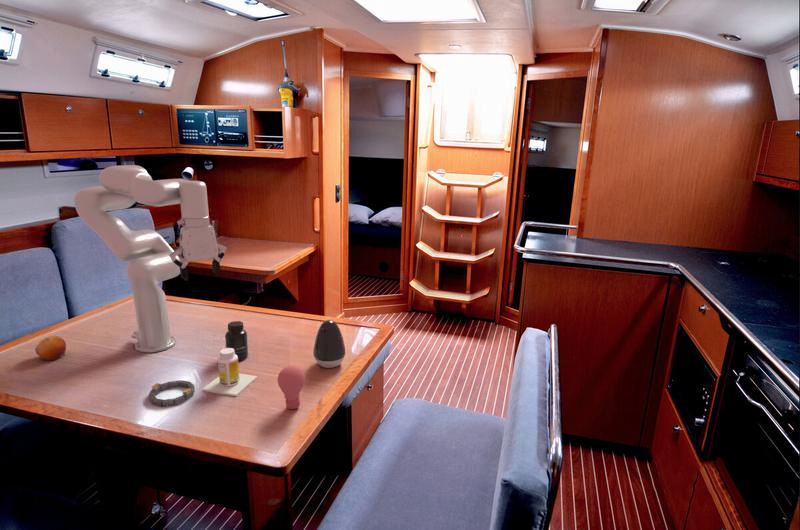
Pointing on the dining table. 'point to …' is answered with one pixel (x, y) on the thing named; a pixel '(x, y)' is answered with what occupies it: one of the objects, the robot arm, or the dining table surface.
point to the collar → (172, 384)
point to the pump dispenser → (329, 345)
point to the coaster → (230, 390)
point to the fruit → (51, 348)
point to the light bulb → (291, 385)
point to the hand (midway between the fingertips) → (201, 276)
